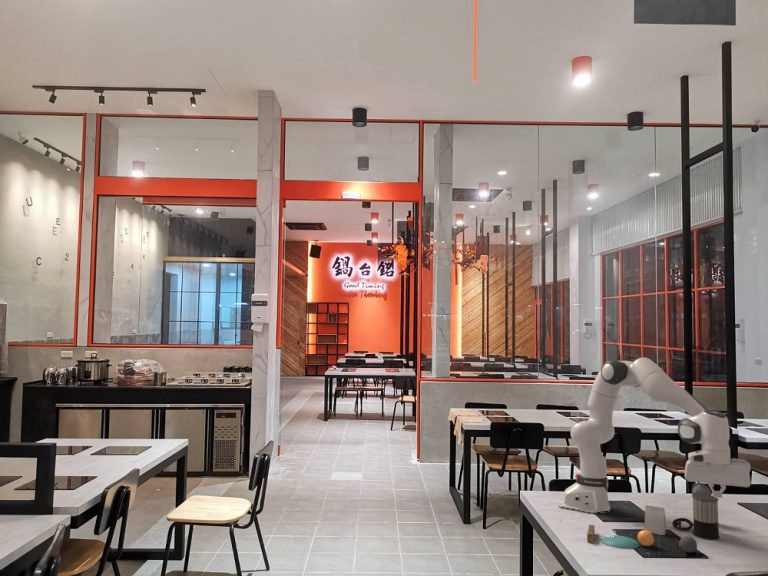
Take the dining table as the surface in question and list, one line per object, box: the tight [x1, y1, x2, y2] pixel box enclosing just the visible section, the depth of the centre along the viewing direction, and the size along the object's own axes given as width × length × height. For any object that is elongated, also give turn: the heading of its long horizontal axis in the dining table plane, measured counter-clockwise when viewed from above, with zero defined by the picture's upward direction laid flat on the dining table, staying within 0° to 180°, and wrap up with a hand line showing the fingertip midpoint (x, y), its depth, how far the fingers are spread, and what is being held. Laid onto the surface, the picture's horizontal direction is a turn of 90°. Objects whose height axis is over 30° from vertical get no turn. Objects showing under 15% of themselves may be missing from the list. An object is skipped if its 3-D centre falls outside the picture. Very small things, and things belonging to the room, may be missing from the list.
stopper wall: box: [586, 524, 596, 544], centre depth 216 cm, size 2×12×3 cm, turn 157°
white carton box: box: [644, 504, 667, 536], centre depth 223 cm, size 4×7×10 cm, turn 53°
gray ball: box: [679, 535, 698, 554], centre depth 203 cm, size 6×6×6 cm
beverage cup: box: [691, 482, 713, 496], centre depth 238 cm, size 7×7×20 cm
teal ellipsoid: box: [599, 534, 641, 550], centre depth 212 cm, size 14×14×1 cm
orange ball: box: [637, 529, 655, 547], centre depth 208 cm, size 6×6×6 cm
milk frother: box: [672, 494, 721, 541], centre depth 224 cm, size 14×16×15 cm
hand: (717, 496), depth 201 cm, fingers closed
